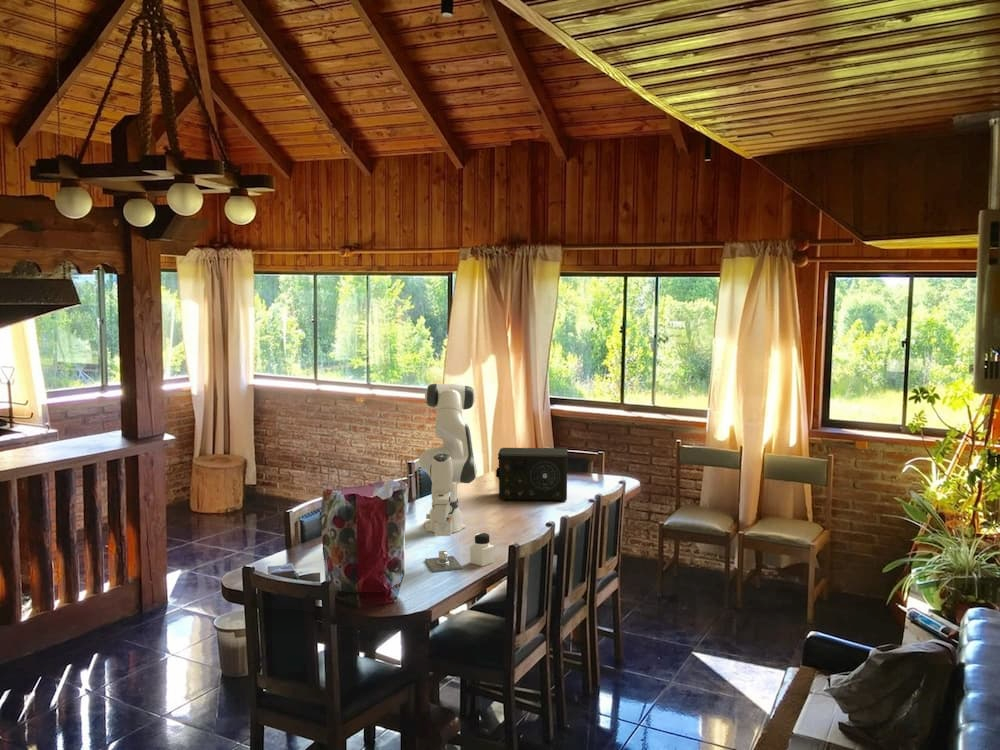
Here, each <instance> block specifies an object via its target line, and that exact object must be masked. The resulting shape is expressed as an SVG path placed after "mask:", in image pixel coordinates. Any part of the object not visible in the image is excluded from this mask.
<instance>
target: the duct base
mask: <svg viewBox="0 0 1000 750" xmlns="http://www.w3.org/2000/svg"><path fill="white" fill-rule="evenodd" d="M424 562H425V563H426V565H427V566H428V568H429V569H430V571H431V572H432V573H436V572H437V573H438V572H439V573H440V572H446V571H447V572H449V571H454V570H455V571H457V570H462V569H463V566H462V565H461V564H460V563H459V561H458V560H457V558H456V557H455V556H454V555H449V556H448V551H446V550H440V551H438V557H429V558H428V557H427V558H424Z"/></svg>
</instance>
